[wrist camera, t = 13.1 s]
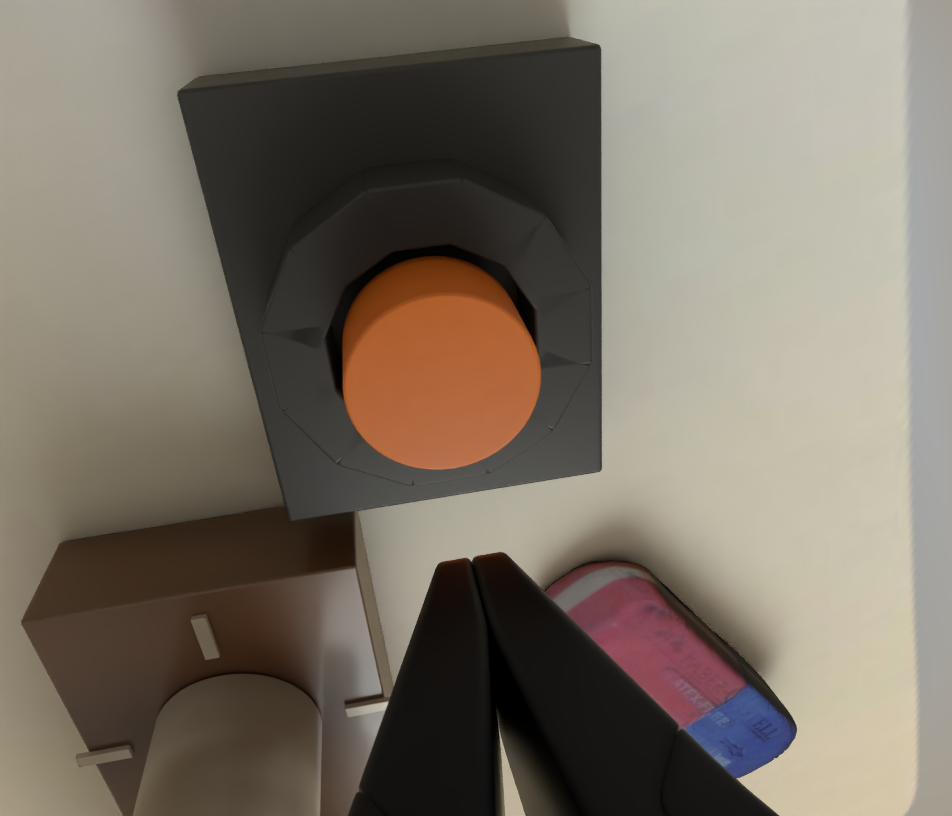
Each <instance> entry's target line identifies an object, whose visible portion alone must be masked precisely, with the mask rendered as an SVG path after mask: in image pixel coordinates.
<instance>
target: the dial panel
mask: <svg viewBox="0 0 952 816" xmlns="http://www.w3.org/2000/svg"><path fill="white" fill-rule="evenodd" d="M21 624H22V626H23V628H24V630H25V631H26V633H27V635H28V637H29V639H30V641H31V643H32V645H33V647H34V648H35V650H36V652H37V654H38V656H39V658H40V660H41V662H42V663H43V665H44V667H45V669H46V671H47V673H48V675H49V677H50V679H51V680H52V682H53V684H54V686H55V688H56V690H57V692H58V694H59V695H60V697H61V699H62V701H63V703H64V705H65V707H66V709H67V711H68V712H69V714H70V716H71V718H72V720H73V722H74V724H75V726H76V727H77V729H78V731H79V733H80V735H81V737H82V739H83V741H84V743H85V744H86V746H87V748H88V750H89V752H86V753H81V754H77V755H76V758H75V760H76V762H77V764H78V766H79V767H84V766H90V765H95V764H96V765H97V767H98V769H99V771H100V773H101V774H102V776H103V778H104V780H105V782H106V784H107V786H108V788H109V790H110V791H111V793H112V795H113V797H114V799H115V801H116V803H117V805H118V806H119V808H120V810H121V812H122V814H123V816H133V812H134V808H135V804H136V800H137V796H138V792H139V788H140V784H141V780H142V775H143V771H144V767H145V763H146V759H147V755H148V751H149V747H150V743H151V739H152V735H153V731H154V727H155V723H156V719H157V717H158V715H159V713H160V711H161V710H162V708H163V707H164V705H165V704H166V703H167V702H168V701H169V700H170V699H171V698H172V697H173V696H174V695H176V694H177V693H178V692H180V691H181V690H183V689H184V688H186V687H188V686H190V685H192V684H194V683H196V682H199V681H202V680H205V679H208V678H212V677H216V676H221V675H228V674H257V675H264V676H269V677H273V678H276V679H279V680H282V681H285V682H287V683H289V684H291V685H294V686H295V687H297V688H298V689H300V690H302V691H303V692H304V693H305V694H306V695H308V696H309V697H310V699H311V700H312V701H313V702H314V704H315V705H316V707H317V708H318V710H319V713H320V715H321V720H322V753H321V796H320V816H348V814H349V811H350V808H351V805H352V802H353V800H354V797H355V794H356V793H357V792H359V784H360V781H361V778H362V775H363V772H364V770H365V767H366V764H367V761H368V758H369V755H370V753H371V750H372V747H373V744H374V741H375V739H376V736H377V733H378V730H379V727H380V724H381V722H382V719H383V716H384V713H385V710H386V708H387V705H388V702H389V699H390V696H391V693H392V691H393V688H394V687H393V682H392V677H391V672H390V668H389V663H388V658H387V653H386V648H385V643H384V638H383V633H382V628H381V623H380V618H379V613H378V609H377V604H376V599H375V594H374V589H373V584H372V579H371V574H370V569H369V564H368V559H367V554H366V550H365V545H364V540H363V535H362V530H361V525H360V520H359V515H358V511H354V512H348V513H341V514H335V515H329V516H323V517H317V518H311V519H304V520H298V521H290V520H289V519H288V515H287V512H286V508H285V507H281V508H275V509H268V510H262V511H256V512H250V513H243V514H237V515H231V516H225V517H218V518H212V519H206V520H200V521H193V522H187V523H181V524H175V525H168V526H162V527H156V528H149V529H143V530H137V531H131V532H124V533H118V534H112V535H106V536H99V537H93V538H87V539H81V540H74V541H68V542H62V543H60V544H59V546H58V548H57V550H56V552H55V554H54V556H53V558H52V560H51V562H50V564H49V566H48V568H47V570H46V572H45V574H44V576H43V578H42V580H41V582H40V584H39V586H38V588H37V590H36V592H35V594H34V596H33V598H32V600H31V602H30V604H29V606H28V608H27V610H26V612H25V614H24V616H23V619H22V621H21Z"/></svg>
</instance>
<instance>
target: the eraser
mask: <svg viewBox="0 0 952 816" xmlns="http://www.w3.org/2000/svg"><path fill="white" fill-rule="evenodd" d="M545 593H546V594H547V595H548V596H549V597H550V598H551V599H552V600H553V601H554V602H555V603H556V604H557V605H558V606H560V607H561V608H562V609H563V610H564V611H565V612H566V613H567V614H568V615H569V616H570V617H571V618H572V619H573V620H574V621H575V622H576V623H577V624H578V625H579V626H580V627H581V628H582V629H583V630H584V631H585V632H586V633H587V634H588V635H589V636H590V637H591V638H592V639H593V640H594V641H595V642H596V643H597V644H598V645H599V646H600V647H601V648H602V649H603V650H604V651H605V652H606V653H607V654H608V655H609V656H610V657H611V658H612V659H613V660H614V661H615V662H616V663H617V664H618V665H619V666H620V667H621V668H622V669H623V670H624V671H625V672H627V673H628V674H629V675H630V676H631V677H632V678H633V679H634V680H635V681H636V682H637V683H638V684H639V685H640V686H641V687H642V688H643V689H644V690H645V691H646V692H647V693H648V694H649V695H650V696H651V697H652V698H653V699H654V700H655V701H656V702H657V703H658V704H659V705H660V706H661V707H662V708H663V709H664V710H665V711H666V712H667V713H668V714H669V715H670V716H671V717H672V718H673V719H674V720H675V721H676V722H677V723H678V724H679V730H680V729H685V730H686V731H687V732H688V733H689V734H690V735H691V736H692V737H693V738H694V739H695V740H696V741H697V742H698V743H699V744H700V745H701V746H702V747H703V748H704V749H705V750H706V751H707V752H708V753H709V754H710V755H711V756H712V757H713V758H714V759H715V760H716V761H718V762H719V763H720V764H721V765H722V766H723V767H724V768H725V769H726V770H727V771H728V772H729V773H730V774H732V775H733V776H734V777H735V778H739V777H742V776H744V775H747V774H749V773H751V772H752V771H754V770H756V769H758V768H760V767H762V766H763V765H765V764H767V763H769V762H771V761H772V760H774V758H777V757H778V756H779V755H780V754H782V753H783V752H784V750H786V749H788V747H789V746H790V744H791V743H792V741H793V740H794V739H795V736H796V733H797V727H796V724H795V722H794V720H793V718H792V716H791V715H790V713H789V712H788V710H787V709H786V708H785V706H784V705H783V704H782V703H781V701H780V700H779V699H778V697H777V696H776V695H775V694H774V692H773V691H772V690H771V688H770V687H769V686H768V685H767V683H766V682H765V681H764V680H763V678H762V677H761V676H760V675H759V674H758V673H757V672H756V671H755V670H754V669H753V668H752V667H751V666H750V665H749V664H748V663H747V662H746V661H745V660H744V659H743V658H742V657H741V656H740V655H739V654H738V653H737V652H736V651H735V650H734V649H733V648H732V647H731V646H729V645H728V644H727V643H726V642H725V641H724V640H722V639H721V638H720V637H719V636H718V635H716V634H715V633H714V632H713V631H712V630H711V629H710V628H709V627H708V626H707V625H706V624H704V623H703V622H702V621H701V620H700V619H699V618H698V617H697V616H696V615H695V614H694V613H693V612H692V611H691V610H690V609H689V608H688V607H687V606H686V605H685V604H684V603H683V602H682V601H681V600H679V599H678V598H677V597H676V596H675V595H674V594H673V593H672V592H671V591H670V590H669V589H668V588H667V587H666V586H665V585H664V584H663V583H662V582H661V581H660V580H658V579H657V578H656V577H655V576H654V575H653V574H652V573H651V572H650V571H649V570H648V569H646V568H645V567H643V566H641V565H638V564H635V563H632V562H628V561H599V562H591V563H586V564H584V565H581V566H579V567H577V568H576V569H574V570H572V571H571V572H569V573H568V574H566V575H565V576H563V577H562V578H561V579H559V580H558V581H556V582H555V583H554V584H553V585H552V586H550V587H549V588H548V589H547V590H546V591H545Z"/></svg>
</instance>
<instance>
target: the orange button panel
mask: <svg viewBox="0 0 952 816" xmlns="http://www.w3.org/2000/svg"><path fill="white" fill-rule="evenodd" d="M177 96H178V100H179V104H180V108H181V112H182V115H183V119H184V123H185V127H186V131H187V134H188V138H189V142H190V146H191V150H192V154H193V157H194V161H195V165H196V169H197V173H198V176H199V180H200V184H201V188H202V192H203V195H204V199H205V203H206V207H207V211H208V214H209V218H210V222H211V226H212V230H213V234H214V237H215V241H216V245H217V249H218V253H219V256H220V260H221V264H222V268H223V272H224V275H225V279H226V283H227V287H228V291H229V295H230V298H231V302H232V306H233V310H234V314H235V317H236V321H237V325H238V329H239V333H240V336H241V340H242V344H243V348H244V352H245V355H246V359H247V363H248V367H249V371H250V375H251V378H252V382H253V386H254V390H255V394H256V397H257V401H258V405H259V409H260V413H261V416H262V420H263V424H264V428H265V432H266V435H267V439H268V443H269V447H270V451H271V455H272V458H273V462H274V466H275V470H276V474H277V477H278V481H279V485H280V489H281V493H282V496H283V500H284V504H285V508H286V512H287V515H288V519H289V520H290V521H298V520H304V519H311V518H317V517H323V516H329V515H335V514H341V513H348V512H354V511H360V510H366V509H372V508H379V507H385V506H391V505H397V504H403V503H410V502H416V501H422V500H428V499H434V498H440V497H447V496H453V495H459V494H465V493H471V492H478V491H484V490H490V489H496V488H502V487H509V486H515V485H521V484H527V483H533V482H539V481H546V480H552V479H558V478H564V477H570V476H577V475H583V474H589V473H595V472H600V471H601V469H602V304H601V47H600V45H598V44H594V43H591V42H587V41H583V40H579V39H575V38H571V37H564V38H555V39H545V40H536V41H527V42H517V43H508V44H499V45H489V46H480V47H471V48H462V49H452V50H443V51H434V52H424V53H415V54H406V55H396V56H387V57H378V58H368V59H359V60H350V61H340V62H331V63H322V64H312V65H303V66H294V67H284V68H275V69H266V70H256V71H247V72H238V73H228V74H219V75H210V76H201V77H197V78H196V79H194V80H193V81H191V82H190V83H189V84H187V85H186V86H184V87H183V88H181V89H180V90H179V91H178V93H177ZM425 256H446V257H452V258H457V259H460V260H464V261H467V262H470V263H472V264H474V265H476V266H478V267H480V268H482V269H483V270H485V271H486V272H487V273H489V274H490V275H491V276H493V277H494V278H495V279H496V280H497V281H498V282H499V283H500V284H501V285H502V287H503V288H504V289H505V290H506V292H507V293H508V295H509V296H510V298H511V300H512V302H513V303H514V305H515V307H516V309H517V311H518V313H519V315H520V317H521V319H522V320H523V322H524V324H525V326H526V328H527V330H528V332H529V334H530V335H531V337H532V339H533V342H534V344H535V346H536V348H537V352H538V355H539V359H540V366H541V385H540V391H539V396H538V399H537V402H536V405H535V407H534V410H533V412H532V414H531V416H530V418H529V419H528V421H527V422H526V424H525V426H524V427H523V428H522V429H521V431H520V432H519V433H518V434H517V435H516V436H515V437H514V438H513V439H512V440H511V441H510V442H509V443H508V444H507V445H506V446H504V447H503V448H502V449H500V450H499V451H497V452H496V453H494V454H492V455H491V456H489V457H487V458H485V459H483V460H480V461H478V462H476V463H473V464H470V465H467V466H462V467H458V468H452V469H442V470H432V469H421V468H415V467H411V466H407V465H404V464H401V463H398V462H396V461H394V460H392V459H390V458H388V457H386V456H384V455H382V454H381V453H380V452H378V451H377V450H375V449H374V448H373V447H372V446H371V445H369V444H368V443H367V442H366V441H365V440H364V439H363V437H362V436H361V435H360V434H359V433H358V431H357V430H356V428H355V427H354V425H353V423H352V422H351V419H350V417H349V415H348V413H347V409H346V406H345V402H344V396H343V359H342V340H343V329H344V323H345V320H346V317H347V314H348V311H349V309H350V307H351V305H352V303H353V301H354V299H355V298H356V296H357V295H358V294H359V292H360V291H361V290H362V289H363V287H364V286H365V285H366V284H367V283H368V282H369V281H370V280H372V279H373V278H374V277H375V276H376V275H378V274H379V273H381V272H382V271H384V270H385V269H387V268H389V267H391V266H393V265H395V264H397V263H400V262H403V261H406V260H409V259H413V258H418V257H425Z"/></svg>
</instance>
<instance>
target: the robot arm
mask: <svg viewBox="0 0 952 816" xmlns="http://www.w3.org/2000/svg"><path fill="white" fill-rule="evenodd" d="M498 725H499V727H498ZM499 729H500V734H501V738H502V741H503V745H504V748H505V752H506V755H507V758H508V762H509V765H510V768H511V771H512V774H513V777H514V780H515V784H516V787H517V790H518V793H519V796H520V799H521V802H522V805H523V809H524V812H525V815H526V816H779V815H778V814H777V813H776V812H774V811H773V810H772V809H771V808H769V807H768V806H767V805H766V804H765V803H763V802H762V801H761V800H760V799H759V798H757V797H756V796H755V795H754V794H753V793H751V792H750V791H749V790H748V789H747V788H746V787H744V786H743V785H742V784H741V783H740V782H739V781H738V780H737V779H736V778H735V777H734V776H733V775H732V774H730V773H729V772H728V771H727V770H726V769H725V768H724V767H723V766H722V765H721V764H720V763H719V762H718V761H716V760H715V759H714V758H713V757H712V756H711V755H710V754H709V753H708V752H707V751H706V750H705V749H704V748H703V747H702V746H701V745H700V744H699V743H698V742H697V741H696V740H695V739H694V738H693V737H692V736H691V735H690V734H689V733H688V732H687V731H686V730H685V729H680V730H679V724H678V723H677V722H676V721H675V720H674V719H673V718H672V717H671V716H670V715H669V714H668V713H667V712H666V711H665V710H664V709H663V708H662V707H661V706H660V705H659V704H658V703H657V702H656V701H655V700H654V699H653V698H652V697H651V696H650V695H649V694H648V693H647V692H646V691H645V690H644V689H643V688H642V687H641V686H640V685H639V684H638V683H637V682H636V681H635V680H634V679H633V678H632V677H631V676H630V675H629V674H628V673H627V672H625V671H624V670H623V669H622V668H621V667H620V666H619V665H618V664H617V663H616V662H615V661H614V660H613V659H612V658H611V657H610V656H609V655H608V654H607V653H606V652H605V651H604V650H603V649H602V648H601V647H600V646H599V645H598V644H597V643H596V642H595V641H594V640H593V639H592V638H591V637H590V636H589V635H588V634H587V633H586V632H585V631H584V630H583V629H582V628H581V627H580V626H579V625H578V624H577V623H576V622H575V621H574V620H573V619H572V618H571V617H570V616H569V615H568V614H567V613H566V612H565V611H564V610H563V609H562V608H561V607H560V606H558V605H557V604H556V603H555V602H554V601H553V600H552V599H551V598H550V597H549V596H548V595H547V594H546V593H545V592H544V591H543V590H542V589H541V588H540V587H539V586H538V585H537V584H536V583H535V582H534V581H533V580H532V579H531V578H530V577H529V576H528V575H527V574H526V573H525V572H524V571H523V570H522V569H521V568H520V567H519V566H518V565H517V564H516V563H515V562H514V561H513V560H512V559H511V558H510V557H509V556H508V555H507V554H505V553H503V552H498V553H492V554H486V555H480V556H476V557H474V558H473V560H472V562H471V561H470V560H469V559H468V558H462V559H457V560H451V561H445V562H441V563H439V564H438V565H437V567H436V569H435V572H434V575H433V578H432V581H431V583H430V586H429V589H428V592H427V595H426V598H425V600H424V603H423V606H422V609H421V612H420V614H419V617H418V620H417V623H416V626H415V629H414V631H413V634H412V637H411V640H410V643H409V645H408V648H407V651H406V654H405V657H404V660H403V662H402V665H401V668H400V671H399V674H398V677H397V679H396V682H395V685H394V688H393V691H392V693H391V696H390V699H389V702H388V705H387V708H386V710H385V713H384V716H383V719H382V722H381V724H380V727H379V730H378V733H377V736H376V739H375V741H374V744H373V747H372V750H371V753H370V755H369V758H368V761H367V764H366V767H365V770H364V772H363V775H362V778H361V781H360V784H359V792H357V793H356V794H355V797H354V800H353V802H352V805H351V808H350V811H349V814H348V816H505V807H504V791H503V775H502V759H501V748H500V737H499Z"/></svg>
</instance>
